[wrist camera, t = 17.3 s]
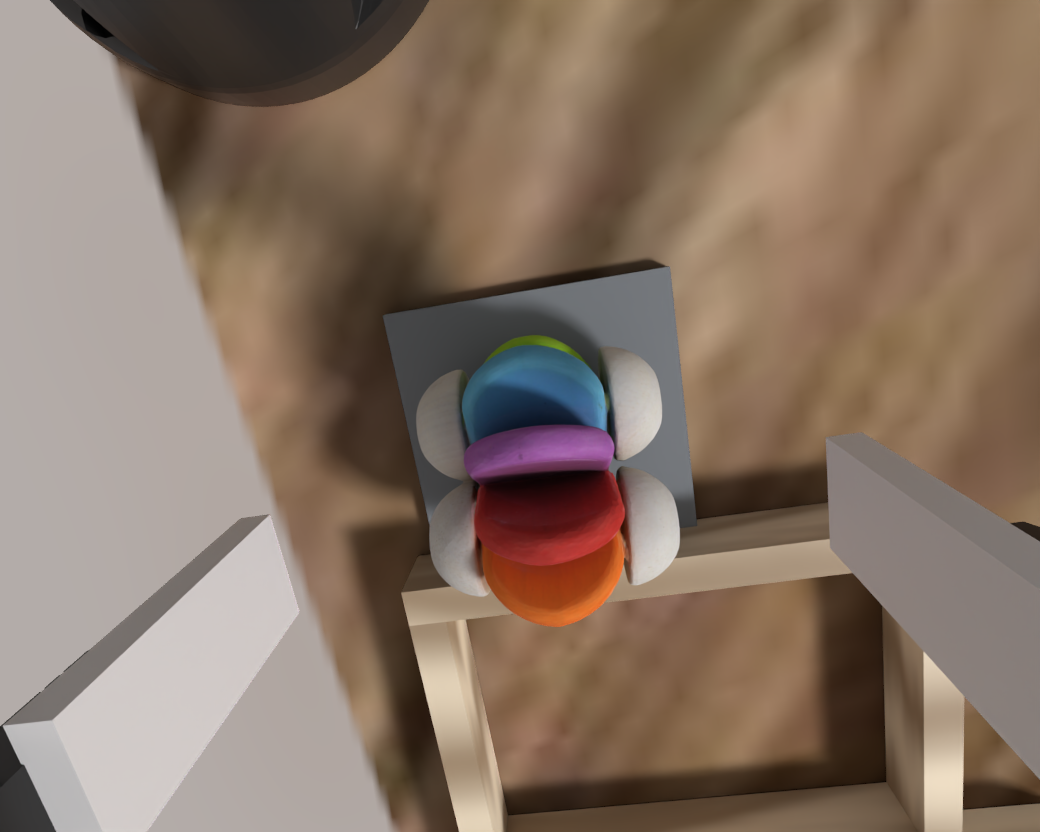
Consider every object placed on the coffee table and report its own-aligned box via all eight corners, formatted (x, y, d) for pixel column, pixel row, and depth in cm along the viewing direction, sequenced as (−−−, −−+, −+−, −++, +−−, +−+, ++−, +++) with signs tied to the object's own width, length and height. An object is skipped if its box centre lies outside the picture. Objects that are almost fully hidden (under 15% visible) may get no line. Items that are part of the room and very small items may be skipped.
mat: (386, 314, 24) (382, 315, 23) (666, 266, 23) (669, 266, 22) (442, 563, 27) (439, 570, 26) (695, 530, 25) (698, 537, 25)
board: (417, 556, 26) (401, 592, 24) (1075, 469, 24) (1147, 499, 21) (529, 1037, 34) (527, 1111, 31) (1043, 1010, 31) (1093, 1087, 28)
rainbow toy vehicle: (454, 607, 23) (398, 677, 16) (428, 361, 24) (362, 322, 17) (676, 586, 23) (721, 650, 15) (643, 332, 23) (670, 278, 16)
